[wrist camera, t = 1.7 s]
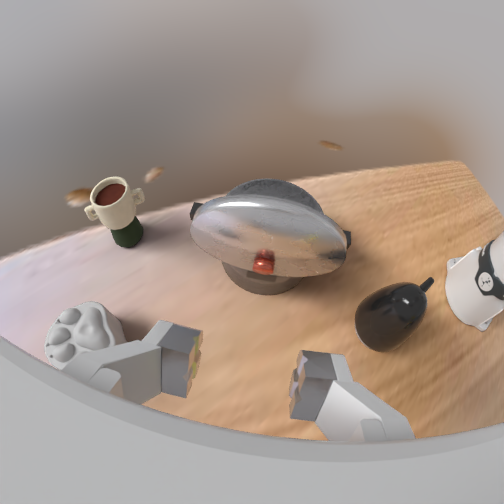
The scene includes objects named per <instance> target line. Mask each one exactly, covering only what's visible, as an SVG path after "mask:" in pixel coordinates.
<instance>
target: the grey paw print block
mask: <svg viewBox="0 0 504 504" xmlns="http://www.w3.org/2000/svg"><path fill="white" fill-rule="evenodd" d="M124 343H128V342H127V341H126V339H125V337H124V333H123V328H122V325H121V323H120V321H119V320H118V319H117V318H116V317H115V316H114V315H113V314H111V313H110V312H109V311H108V310H107V309H106V308H105V307H104V306H103V305H102V304H100V303H98V302H93V301H90V302H85V303H82V304H80V305H77V306H75V307H73V308H68V309H66V310H64V311H63V312H62V314H61V315H60V316H59V317H58V318H57V319H56V320H55V322H54V323H53V324H52V326H51V327H50V329H49V331H48V333H47V336H46V340H45V345H44V350H45V354H46V357H47V359H48V361H49V362H50V363H51V364H52V365H53V366H54V367H55V368H57V369H58V370H60V371H61V370H62V369H63V368H64V367H65V366H66V365H67V364H68V363H69V362H70V361H72V360H73V359H74V358H75V357H76V356H77V355H78V354H83V353H87V352H91V351H96V350H100V349H104V348H108V347H112V346H116V345H120V344H124Z"/></svg>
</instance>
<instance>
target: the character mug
mask: <svg viewBox="0 0 504 504" xmlns="http://www.w3.org/2000/svg"><path fill="white" fill-rule="evenodd" d="M137 194H138V197H139V198H138V199H135V200H134V198H133V196H134V195H137ZM90 200H91V203H92V205H90V206H88V207H86V208H85V212H86V214H87V216H88V217H89V219H90V220H96V219H98V218H99V219H100V220H101V222H102V224H103V225H105V226H106V227H107V228H108V229H110V230H111V233H112V235H113V238H114V240H115V242H116V244H118V245H119V246H121V247H131V246H133V245H135V244H136V243H137V242H138V241H139V240H140V239H141V237H142V234H143V227H142V226H141V224H140V222H139V220H138V219H137V217H136V216H135V215H136V205H137V204H140V203H143V202H144V200H145V197H144V194H143V191H142V190H141V189H140V188H137V189H134V190H130V187H129V185H128V183H127V182H126V180H125V179H123V178H121V177H109V178H106V179H104V180H102V181H101V182H100V183H98V184H97V185H96V186H95V187H94V189H93V191H92V192H91V196H90ZM93 210H95V211H96V214H92V213H91V211H93Z"/></svg>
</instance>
